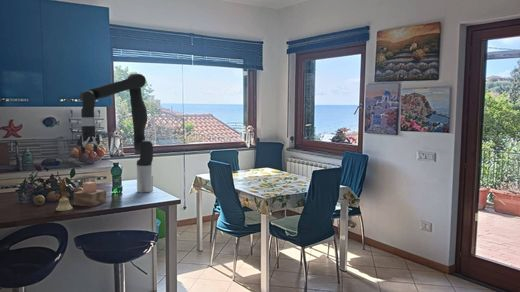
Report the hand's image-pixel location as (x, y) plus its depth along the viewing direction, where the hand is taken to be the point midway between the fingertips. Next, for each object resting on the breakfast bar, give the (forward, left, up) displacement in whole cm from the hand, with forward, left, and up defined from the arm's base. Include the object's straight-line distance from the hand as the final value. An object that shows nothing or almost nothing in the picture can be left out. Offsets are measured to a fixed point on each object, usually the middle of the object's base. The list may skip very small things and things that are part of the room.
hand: (89, 152), depth 245 cm
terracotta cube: (+9, +10, -21) cm, 25 cm away
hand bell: (+25, +10, -28) cm, 38 cm away
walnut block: (+9, +10, -28) cm, 31 cm away
